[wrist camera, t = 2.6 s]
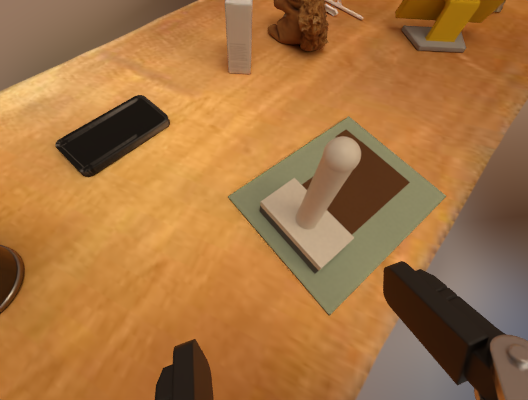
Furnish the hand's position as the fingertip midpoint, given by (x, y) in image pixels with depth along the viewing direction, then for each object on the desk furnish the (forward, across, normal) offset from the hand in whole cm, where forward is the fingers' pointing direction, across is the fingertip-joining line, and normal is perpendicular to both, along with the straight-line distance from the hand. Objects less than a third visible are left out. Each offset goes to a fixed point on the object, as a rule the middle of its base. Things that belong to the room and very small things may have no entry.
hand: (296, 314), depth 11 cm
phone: (+39, +14, -2) cm, 41 cm away
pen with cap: (+62, -36, -13) cm, 73 cm away
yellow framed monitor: (+50, -54, -2) cm, 74 cm away
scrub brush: (+21, -7, +12) cm, 26 cm away
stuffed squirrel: (+54, -23, -9) cm, 60 cm away
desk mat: (+24, -15, +12) cm, 31 cm away
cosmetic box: (+50, -9, -7) cm, 51 cm away
